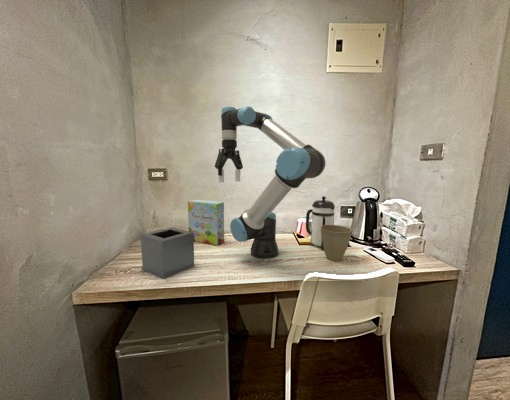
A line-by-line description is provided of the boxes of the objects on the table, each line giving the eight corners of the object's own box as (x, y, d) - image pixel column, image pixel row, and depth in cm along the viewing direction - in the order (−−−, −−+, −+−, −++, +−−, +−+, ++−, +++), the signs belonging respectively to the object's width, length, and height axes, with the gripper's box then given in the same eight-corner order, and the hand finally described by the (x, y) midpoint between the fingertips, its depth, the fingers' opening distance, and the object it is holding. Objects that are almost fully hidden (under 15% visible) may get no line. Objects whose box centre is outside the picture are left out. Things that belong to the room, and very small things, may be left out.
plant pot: (337, 267, 105) (339, 234, 103) (313, 256, 117) (314, 227, 115) (356, 260, 113) (358, 229, 111) (331, 251, 125) (333, 223, 123)
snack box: (187, 241, 140) (186, 200, 136) (196, 237, 148) (195, 199, 144) (217, 246, 131) (217, 203, 128) (225, 242, 139) (224, 201, 136)
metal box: (194, 265, 105) (193, 232, 103) (163, 279, 92) (161, 241, 90) (173, 257, 114) (172, 227, 112) (142, 269, 101) (140, 234, 99)
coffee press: (333, 242, 140) (336, 195, 136) (335, 251, 125) (338, 198, 121) (305, 240, 144) (307, 194, 140) (303, 248, 129) (305, 197, 125)
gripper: (237, 143, 126) (238, 180, 128) (206, 137, 104) (207, 182, 107) (249, 142, 122) (249, 181, 124) (218, 135, 101) (219, 183, 103)
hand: (230, 181), depth 116 cm, fingers open, 13 cm apart
